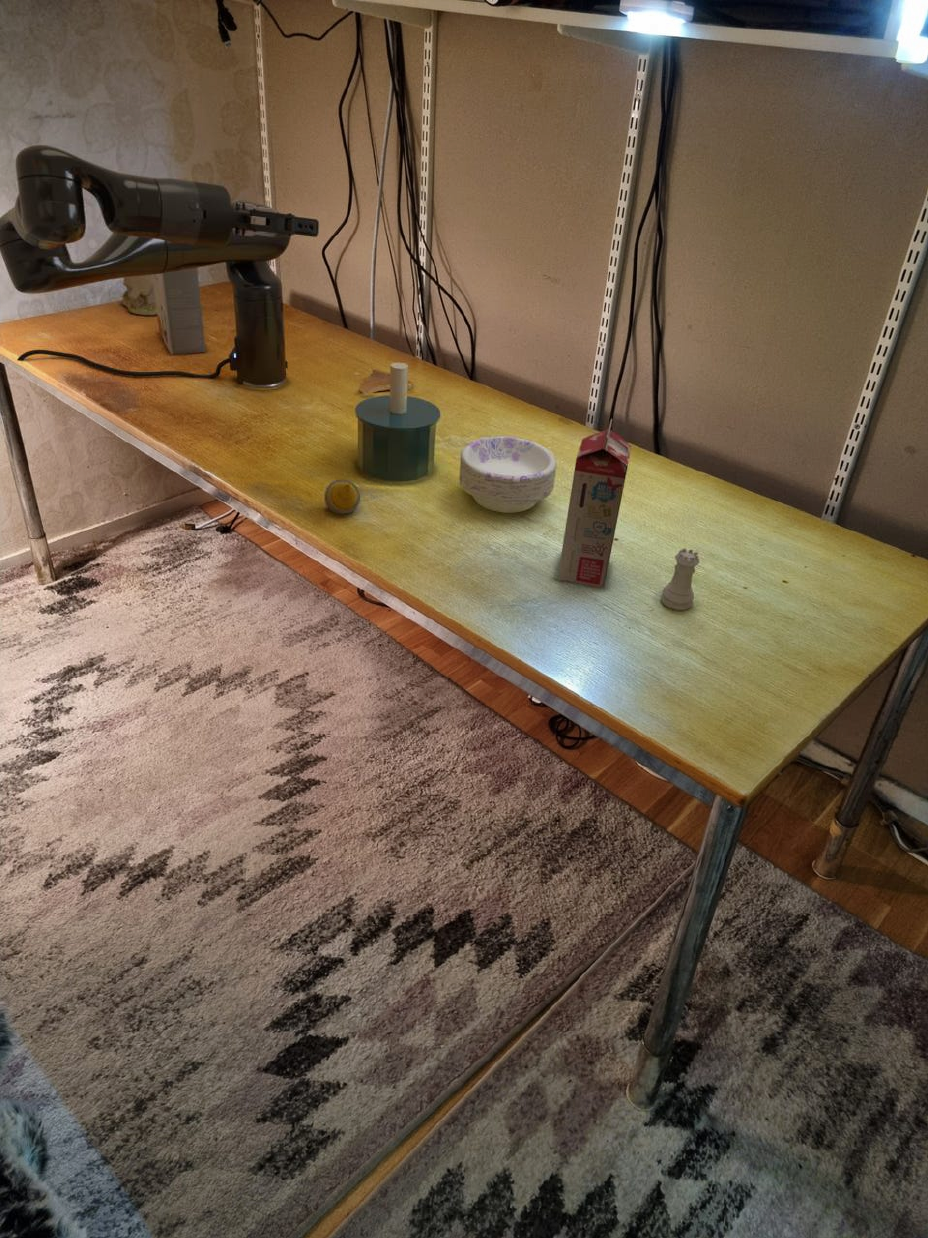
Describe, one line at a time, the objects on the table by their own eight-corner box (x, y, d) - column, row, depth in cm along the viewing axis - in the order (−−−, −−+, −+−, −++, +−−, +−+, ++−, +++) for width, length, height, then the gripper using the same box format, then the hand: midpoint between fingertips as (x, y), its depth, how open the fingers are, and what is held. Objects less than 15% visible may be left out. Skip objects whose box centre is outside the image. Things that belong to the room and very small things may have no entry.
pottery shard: (359, 397, 174) (359, 384, 172) (359, 380, 181) (359, 368, 180) (412, 398, 175) (412, 386, 174) (409, 381, 182) (409, 369, 181)
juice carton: (608, 564, 127) (636, 422, 115) (603, 587, 122) (632, 441, 109) (563, 556, 128) (586, 414, 116) (557, 579, 123) (580, 433, 110)
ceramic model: (183, 310, 210) (178, 267, 205) (140, 318, 203) (134, 273, 197) (151, 296, 218) (146, 254, 212) (110, 303, 211) (103, 260, 205)
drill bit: (363, 504, 138) (374, 486, 128) (338, 526, 136) (347, 509, 127) (340, 479, 137) (349, 459, 128) (315, 500, 136) (322, 481, 126)
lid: (350, 431, 138) (349, 377, 133) (360, 398, 149) (360, 347, 144) (438, 438, 138) (441, 384, 133) (441, 405, 149) (444, 354, 144)
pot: (355, 482, 143) (355, 427, 138) (360, 449, 153) (360, 397, 148) (433, 486, 144) (436, 432, 138) (433, 453, 154) (436, 402, 149)
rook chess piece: (656, 593, 122) (668, 544, 117) (686, 593, 122) (699, 544, 118) (664, 611, 118) (677, 561, 114) (696, 612, 119) (710, 562, 114)
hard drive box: (158, 332, 196) (146, 238, 185) (193, 330, 199) (183, 237, 187) (170, 355, 185) (158, 256, 173) (207, 352, 188) (197, 255, 176)
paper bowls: (491, 530, 133) (496, 483, 128) (440, 488, 143) (443, 444, 139) (569, 511, 140) (577, 466, 136) (515, 472, 150) (521, 429, 146)
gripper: (172, 240, 119) (282, 252, 128) (208, 247, 109) (325, 259, 118) (171, 180, 117) (284, 196, 126) (207, 180, 106) (328, 198, 115)
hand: (304, 226), depth 122 cm, fingers open, 8 cm apart
